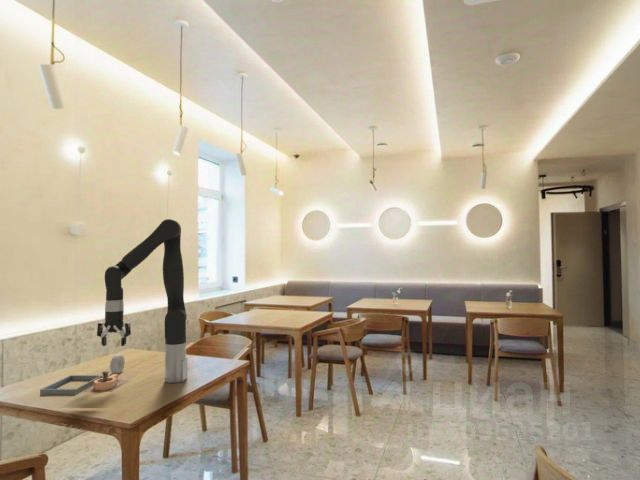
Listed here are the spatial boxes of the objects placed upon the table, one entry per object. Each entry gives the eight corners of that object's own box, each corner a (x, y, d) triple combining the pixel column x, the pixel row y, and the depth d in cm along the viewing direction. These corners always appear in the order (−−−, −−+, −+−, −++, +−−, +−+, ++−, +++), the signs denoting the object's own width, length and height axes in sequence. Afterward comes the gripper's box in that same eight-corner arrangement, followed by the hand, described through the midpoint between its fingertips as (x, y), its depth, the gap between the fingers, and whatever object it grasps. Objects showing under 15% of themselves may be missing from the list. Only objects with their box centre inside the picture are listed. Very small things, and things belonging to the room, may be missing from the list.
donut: (115, 377, 195) (115, 356, 195) (108, 377, 195) (108, 356, 195) (126, 371, 205) (126, 351, 205) (119, 371, 205) (119, 351, 205)
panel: (129, 382, 187) (130, 365, 188) (111, 393, 171) (111, 375, 172) (104, 382, 188) (104, 365, 188) (83, 393, 172) (83, 376, 172)
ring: (124, 380, 186) (124, 374, 186) (109, 390, 173) (109, 383, 173) (106, 380, 186) (106, 374, 186) (90, 390, 173) (90, 383, 174)
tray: (102, 381, 188) (102, 375, 188) (75, 396, 168) (76, 389, 168) (70, 381, 188) (70, 375, 188) (39, 396, 168) (40, 389, 168)
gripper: (133, 308, 189) (133, 344, 189) (103, 308, 189) (102, 343, 189) (125, 311, 182) (125, 347, 181) (94, 310, 182) (93, 347, 181)
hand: (113, 345), depth 185 cm, fingers open, 8 cm apart
